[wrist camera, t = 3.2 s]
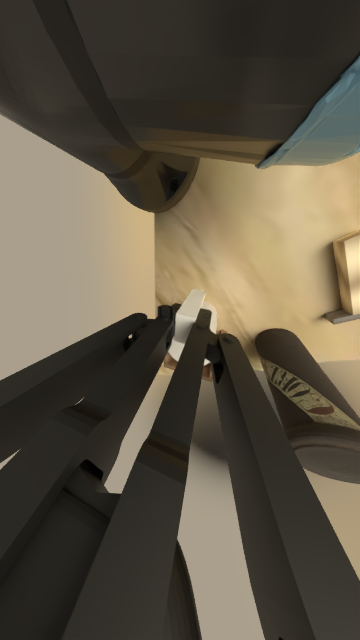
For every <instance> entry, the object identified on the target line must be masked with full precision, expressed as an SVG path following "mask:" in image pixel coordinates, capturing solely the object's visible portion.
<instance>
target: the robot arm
mask: <svg viewBox="0 0 360 640" xmlns="http://www.w3.org/2000/svg"><path fill="white" fill-rule="evenodd" d="M0 114H1V115H2V116H4V117H6V118H8V119H9V120H11V121H13V122H15V123H16V124H18V125H20V126H22V127H23V128H25V129H27V130H28V131H30V132H32V133H34V134H36V135H37V136H39V137H41V138H42V139H44V140H46V141H48V142H50V143H51V144H53V145H55V146H57V147H58V148H60V149H62V150H63V151H65V152H67V153H69V154H70V155H72V156H74V157H76V158H77V159H79V160H81V161H83V162H84V163H86V164H88V165H90V166H91V167H93V168H95V169H97V170H99V171H100V172H102V173H104V174H105V175H106V176H107V178H108V179H109V180H110V181H111V183H112V184H113V185H114V186H115V187H116V188H117V190H118V191H119V192H120V194H121V195H122V196H123V197H124V198H125V199H126V200H127V201H128V202H130V203H131V204H133V205H134V206H136V207H138V208H140V209H142V210H145V211H148V212H153V213H157V212H163V211H166V210H168V209H170V208H171V207H173V206H174V205H176V204H177V203H178V202H179V201H180V200H181V199H182V197H183V196H184V195H185V193H186V192H187V190H188V189H189V187H190V185H191V183H192V181H193V179H194V176H195V174H196V171H197V168H198V164H199V160H200V157H202V158H212V159H220V160H227V161H235V162H242V163H250V164H255V167H257V169H258V168H259V169H265V168H267V167H270V166H272V165H302V166H323V165H328V164H332V163H335V162H338V161H341V160H343V159H346V158H348V157H350V156H352V155H354V154H356V153H358V152H360V0H0ZM205 292H206V291H204V290H198V289H193V290H192V291H191V293H190V294H189V295H188V297H187V298H186V300H185V301H184V303H183V304H177V303H175V304H173V305H172V306H169V305H162V306H159V307H158V317H157V318H156V319H147V315H145V314H143V313H135V314H132V315H130V316H128V317H126V318H124V319H122V320H120V321H118V322H116V323H114V324H112V325H110V326H108V327H107V328H104V329H102V330H100V331H98V332H96V333H94V334H92V335H90V336H88V337H86V338H84V339H82V340H80V341H78V342H76V343H74V344H72V345H70V346H68V347H66V348H65V349H62V350H60V351H58V352H56V353H54V354H52V355H50V356H48V357H47V358H44V359H43V360H40V361H38V362H36V363H34V364H33V365H30V366H28V367H27V368H24V369H23V370H20V371H19V372H16V373H15V374H12V375H10V376H8V377H6V378H5V379H2V380H1V381H0V463H1V462H2V461H4V460H5V459H7V458H8V457H10V456H11V455H12V454H14V453H15V452H17V451H18V450H19V451H18V452H17V454H15V456H14V457H13V458H12V459H11V460H10V461H9V462H8V463H7V464H6V465H5V466H4V467H3V468H2V469H1V470H0V640H202V637H201V632H200V626H199V621H198V615H197V610H196V604H195V599H194V594H193V589H192V585H191V580H190V576H189V573H188V569H187V565H186V561H185V558H184V555H183V552H182V550H181V546H180V545H179V542H178V540H177V535H178V529H179V523H180V517H181V510H182V503H183V498H184V492H185V485H186V479H187V472H188V463H189V450H190V444H191V438H192V432H193V425H194V420H195V415H196V409H197V403H198V397H199V390H200V385H201V379H202V373H203V367H204V361H205V359H207V360H208V361H210V366H211V371H212V377H213V382H214V388H215V393H216V399H217V405H218V410H219V416H220V421H221V426H222V432H223V438H224V443H225V449H226V455H227V460H228V466H229V471H230V477H231V482H232V488H233V494H234V499H235V505H236V510H237V515H238V521H239V527H240V532H241V538H242V543H243V549H244V554H245V559H246V563H247V568H248V573H249V578H250V583H251V587H252V591H253V595H254V599H255V603H256V606H257V611H258V614H259V618H260V622H261V626H262V629H263V634H264V637H265V640H360V581H359V579H358V577H357V575H356V573H355V571H354V569H353V567H352V565H351V563H350V561H349V559H348V557H347V555H346V553H345V551H344V549H343V547H342V545H341V543H340V541H339V539H338V537H337V535H336V533H335V531H334V529H333V527H332V525H331V523H330V521H329V519H328V517H327V515H326V513H325V511H324V509H323V507H322V505H321V503H320V501H319V499H318V497H317V495H316V493H315V491H314V489H313V487H312V485H311V483H310V481H309V479H308V477H307V475H306V473H305V471H304V469H303V467H302V465H301V464H300V462H299V460H298V458H297V456H296V454H295V452H294V450H293V448H292V446H291V444H290V442H289V440H288V438H287V436H286V434H285V432H284V430H283V428H282V426H281V424H280V422H279V420H278V418H277V416H276V414H275V412H274V410H273V408H272V406H271V404H270V402H269V400H268V398H267V396H266V394H265V392H264V390H263V388H262V386H261V384H260V382H259V380H258V378H257V377H256V374H255V372H254V370H253V368H252V366H251V364H250V362H249V360H248V358H247V356H246V354H245V352H244V350H243V348H242V346H241V344H240V342H239V340H238V339H237V338H236V337H235V336H233V335H231V334H228V333H222V334H220V335H217V334H215V333H213V332H212V331H211V330H210V322H211V316H212V312H211V310H207V309H203V308H202V307H203V302H204V297H205ZM131 334H132V338H130V339H129V337H128V336H129V335H131ZM173 337H174V341H176V342H180V343H183V344H185V345H184V348H183V350H182V353H181V355H180V358H179V360H178V363H177V365H176V368H175V370H174V373H173V375H172V378H171V381H170V383H169V386H168V388H167V391H166V393H165V396H164V399H163V401H162V403H161V406H160V408H159V411H158V414H157V416H156V419H155V421H154V424H153V426H152V429H151V431H150V434H149V436H148V438H147V439H146V440H145V441H144V443H143V445H142V447H141V449H140V451H139V453H138V455H137V458H136V460H135V462H134V465H133V467H132V470H131V472H130V474H129V477H128V479H127V482H126V484H125V486H124V489H123V491H122V494H116V493H109V492H108V491H107V489H106V488H105V486H104V484H105V482H106V480H107V478H108V476H109V474H110V472H111V470H112V468H113V466H114V464H115V461H116V459H117V456H118V454H119V450H120V446H121V443H122V440H123V438H124V436H125V434H126V433H127V430H128V428H129V427H130V425H131V423H132V421H133V419H134V417H135V415H136V413H137V411H138V409H139V407H140V405H141V403H142V401H143V399H144V397H145V395H146V393H147V392H148V390H149V388H150V386H151V384H152V382H153V380H154V378H155V376H156V374H157V372H158V370H159V368H160V366H161V364H162V362H163V360H164V359H165V357H166V355H167V353H168V351H169V349H170V347H171V345H172V339H173ZM82 398H84V399H83V400H82V401H80V400H81V399H82ZM79 401H80V403H78V402H79ZM76 403H78V404H76ZM75 404H76V405H75Z"/></svg>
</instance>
